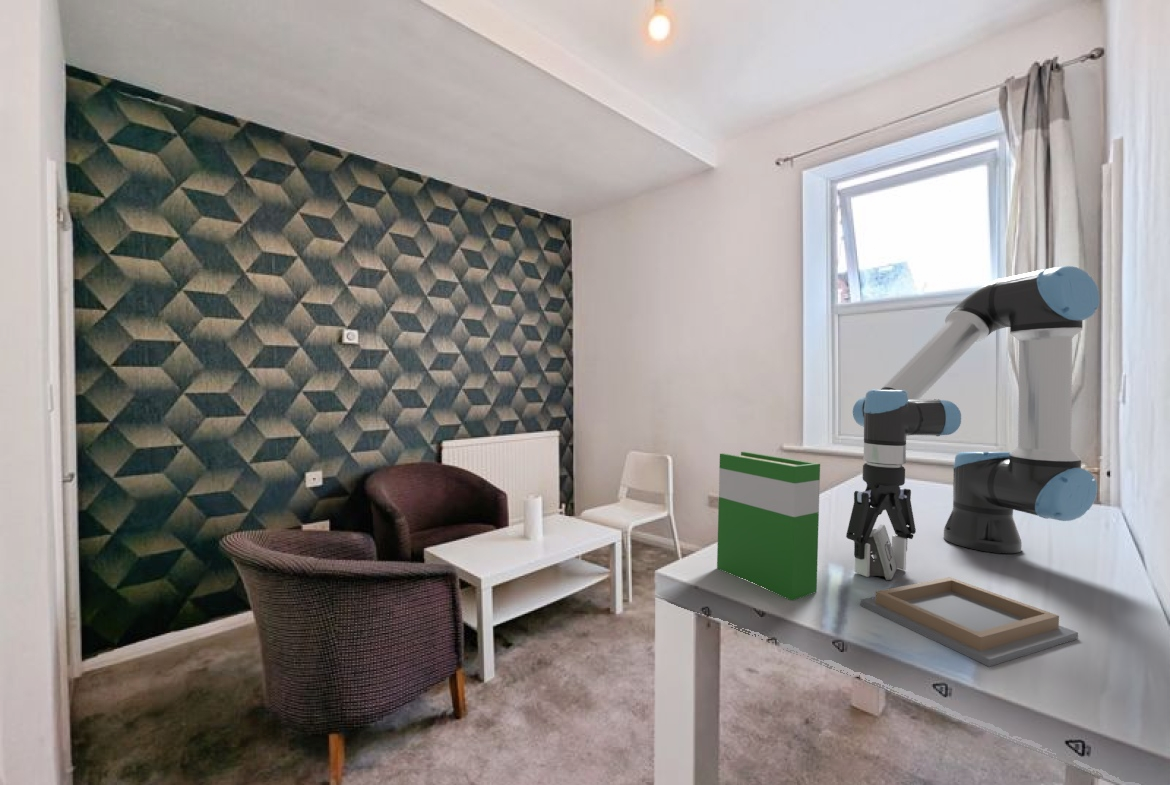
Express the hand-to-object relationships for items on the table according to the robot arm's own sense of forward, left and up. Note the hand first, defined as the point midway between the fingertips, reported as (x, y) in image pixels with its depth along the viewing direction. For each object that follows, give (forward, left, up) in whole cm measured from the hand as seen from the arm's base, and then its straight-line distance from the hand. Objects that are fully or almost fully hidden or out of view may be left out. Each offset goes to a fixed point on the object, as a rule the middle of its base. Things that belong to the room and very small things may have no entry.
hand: (880, 570), depth 103 cm
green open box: (+26, -5, -1) cm, 27 cm away
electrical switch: (0, 0, 0) cm, 1 cm away
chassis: (+7, +20, 0) cm, 21 cm away
